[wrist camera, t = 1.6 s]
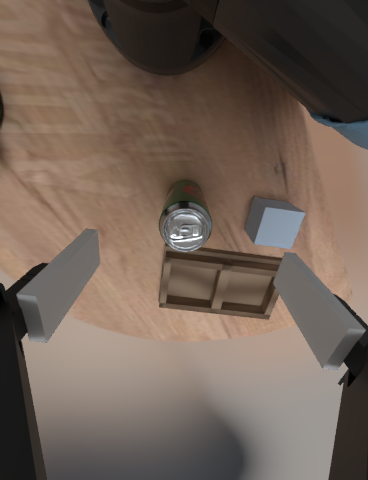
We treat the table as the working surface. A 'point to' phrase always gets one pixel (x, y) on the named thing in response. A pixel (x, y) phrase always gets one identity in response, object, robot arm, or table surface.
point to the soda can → (185, 217)
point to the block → (273, 222)
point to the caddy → (219, 282)
